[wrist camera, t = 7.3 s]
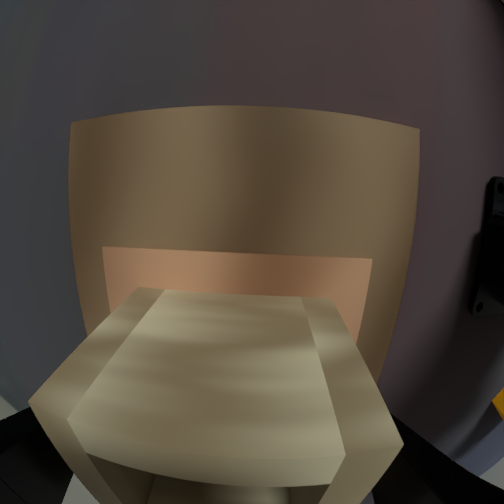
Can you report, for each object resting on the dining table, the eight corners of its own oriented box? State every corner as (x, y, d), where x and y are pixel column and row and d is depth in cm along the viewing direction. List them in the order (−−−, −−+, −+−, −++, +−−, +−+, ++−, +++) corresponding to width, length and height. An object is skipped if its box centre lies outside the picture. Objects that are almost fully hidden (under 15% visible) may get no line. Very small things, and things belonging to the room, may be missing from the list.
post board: (403, 133, 9) (508, 110, 3) (331, 463, 13) (344, 534, 8) (88, 126, 9) (-18, 108, 4) (139, 449, 13) (113, 515, 8)
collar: (330, 297, 9) (403, 444, 3) (304, 427, 11) (319, 544, 5) (138, 286, 9) (27, 401, 3) (160, 416, 11) (120, 524, 5)
